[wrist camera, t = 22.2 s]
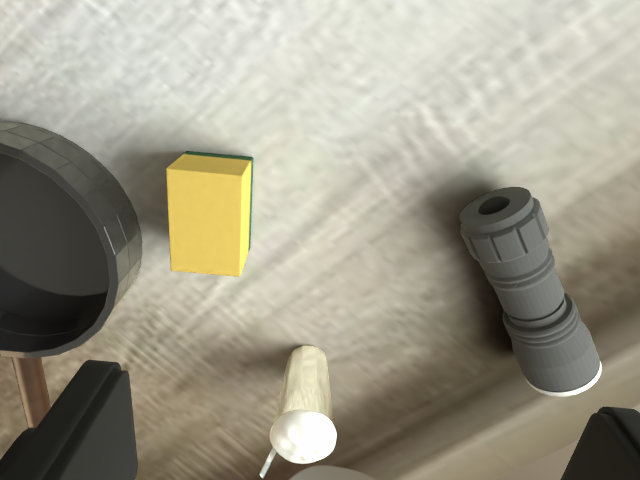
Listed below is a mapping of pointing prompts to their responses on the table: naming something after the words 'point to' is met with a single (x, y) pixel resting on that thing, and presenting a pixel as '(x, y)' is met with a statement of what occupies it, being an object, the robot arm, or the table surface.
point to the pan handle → (32, 389)
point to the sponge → (209, 212)
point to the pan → (59, 243)
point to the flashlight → (530, 291)
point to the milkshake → (303, 410)
